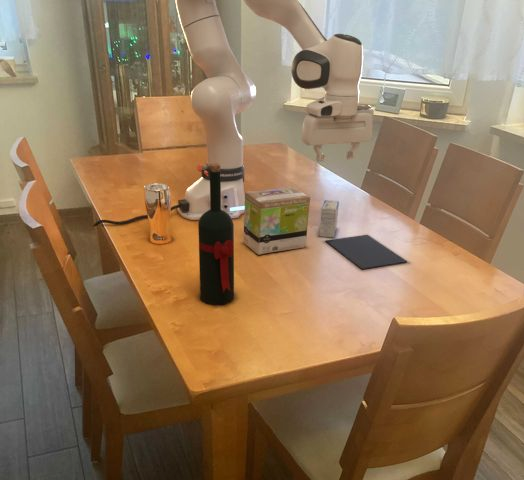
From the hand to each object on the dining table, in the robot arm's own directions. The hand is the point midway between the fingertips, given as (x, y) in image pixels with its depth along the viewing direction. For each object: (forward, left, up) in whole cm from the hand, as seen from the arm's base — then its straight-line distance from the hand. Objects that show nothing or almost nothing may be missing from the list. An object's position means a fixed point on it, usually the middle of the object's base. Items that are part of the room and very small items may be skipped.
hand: (335, 160), depth 150 cm
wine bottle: (-44, -29, -21) cm, 57 cm away
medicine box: (0, 0, -21) cm, 21 cm away
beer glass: (-48, +10, -21) cm, 53 cm away
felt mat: (+3, -16, -21) cm, 27 cm away
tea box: (-19, -4, -21) cm, 29 cm away
